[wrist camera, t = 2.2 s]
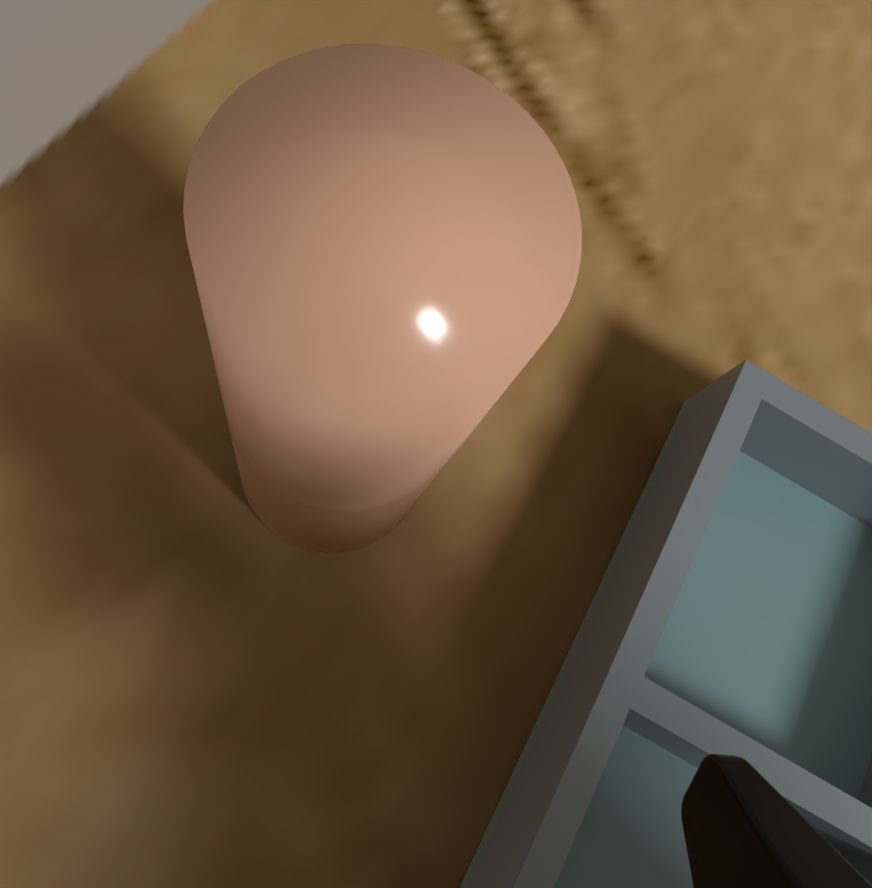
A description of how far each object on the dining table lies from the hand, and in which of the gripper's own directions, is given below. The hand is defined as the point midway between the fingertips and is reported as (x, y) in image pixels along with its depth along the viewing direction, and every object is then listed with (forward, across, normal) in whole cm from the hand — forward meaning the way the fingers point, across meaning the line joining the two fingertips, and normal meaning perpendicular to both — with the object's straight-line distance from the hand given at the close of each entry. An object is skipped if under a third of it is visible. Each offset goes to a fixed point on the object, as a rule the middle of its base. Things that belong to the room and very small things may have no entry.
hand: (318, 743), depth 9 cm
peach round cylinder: (+13, 0, +4) cm, 14 cm away
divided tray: (+8, -11, +9) cm, 17 cm away
